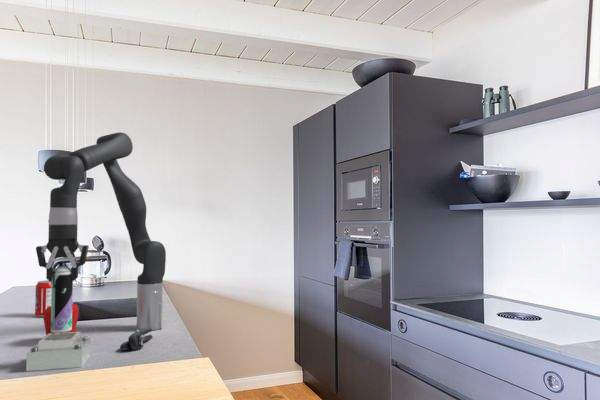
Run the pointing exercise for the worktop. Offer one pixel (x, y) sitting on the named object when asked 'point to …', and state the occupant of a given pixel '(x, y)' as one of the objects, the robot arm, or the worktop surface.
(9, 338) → the worktop surface
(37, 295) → the soda can
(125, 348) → the can opener
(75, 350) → the grey square holder
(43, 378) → the worktop surface
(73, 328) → the apple
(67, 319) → the spray can
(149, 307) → the robot arm
